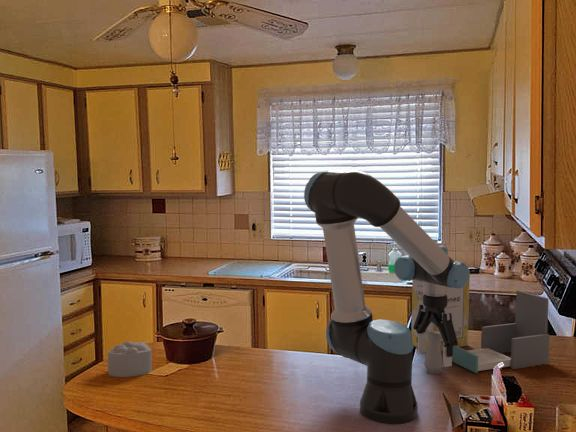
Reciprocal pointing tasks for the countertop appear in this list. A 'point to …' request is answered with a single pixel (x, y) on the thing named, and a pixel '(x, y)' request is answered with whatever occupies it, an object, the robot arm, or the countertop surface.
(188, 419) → the countertop surface
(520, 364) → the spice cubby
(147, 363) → the lumpy-topped squat cylinder
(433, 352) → the salt shaker
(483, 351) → the tray
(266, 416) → the countertop surface
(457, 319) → the pasta box
